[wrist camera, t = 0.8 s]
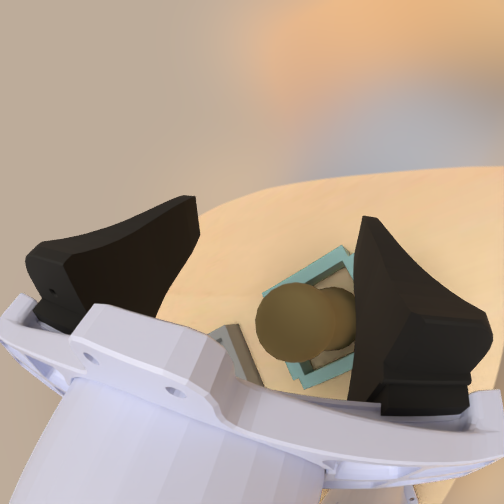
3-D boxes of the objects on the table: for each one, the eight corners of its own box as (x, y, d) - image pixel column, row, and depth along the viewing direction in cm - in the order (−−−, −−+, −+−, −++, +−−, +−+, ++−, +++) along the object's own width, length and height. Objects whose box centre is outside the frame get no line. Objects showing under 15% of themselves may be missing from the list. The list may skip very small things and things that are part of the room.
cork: (293, 336, 27) (228, 347, 18) (314, 278, 27) (258, 260, 18) (348, 360, 24) (309, 390, 15) (372, 298, 24) (349, 291, 15)
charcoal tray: (294, 455, 24) (284, 465, 22) (208, 468, 29) (195, 475, 27) (238, 324, 31) (224, 324, 29) (164, 361, 35) (150, 362, 33)
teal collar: (401, 340, 22) (400, 344, 20) (307, 385, 26) (298, 391, 23) (352, 247, 26) (347, 241, 24) (268, 297, 30) (256, 296, 27)
